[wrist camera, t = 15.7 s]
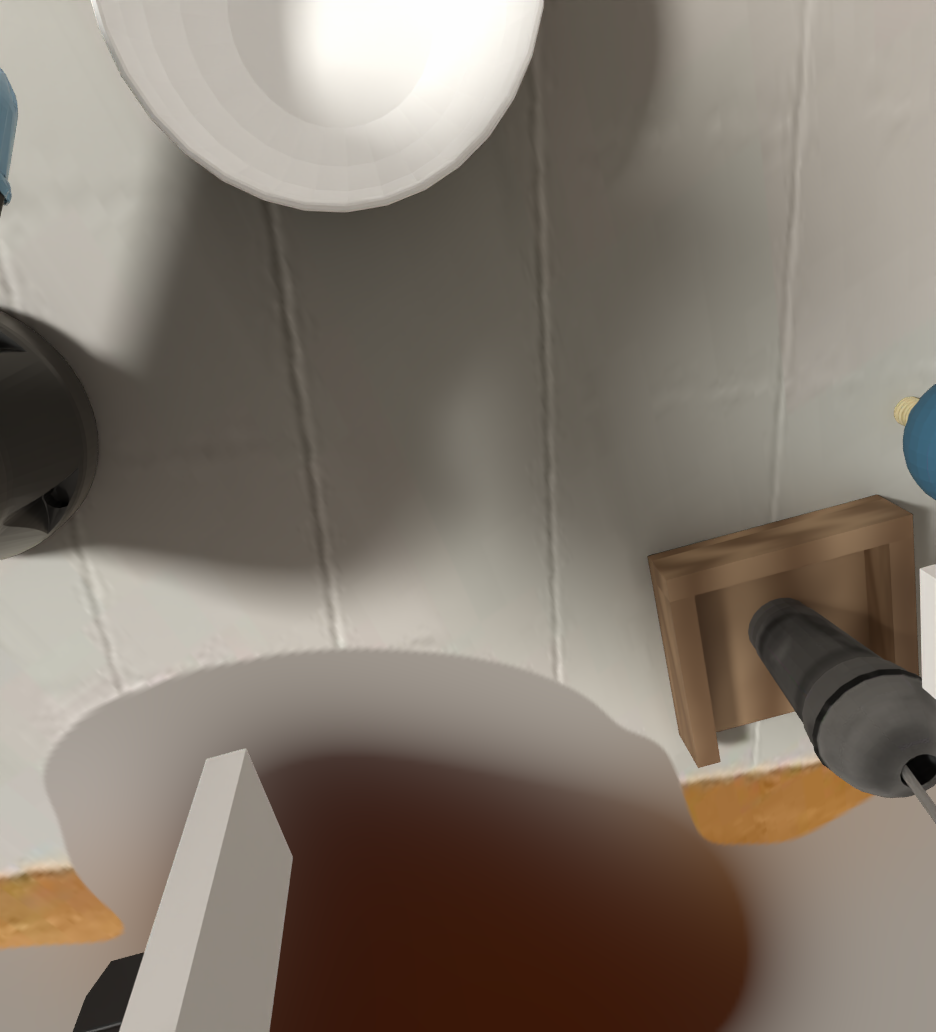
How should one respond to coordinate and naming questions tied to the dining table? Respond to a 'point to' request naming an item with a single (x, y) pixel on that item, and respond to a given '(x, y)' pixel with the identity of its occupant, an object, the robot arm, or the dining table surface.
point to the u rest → (771, 575)
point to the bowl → (324, 88)
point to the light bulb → (920, 438)
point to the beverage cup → (850, 702)
